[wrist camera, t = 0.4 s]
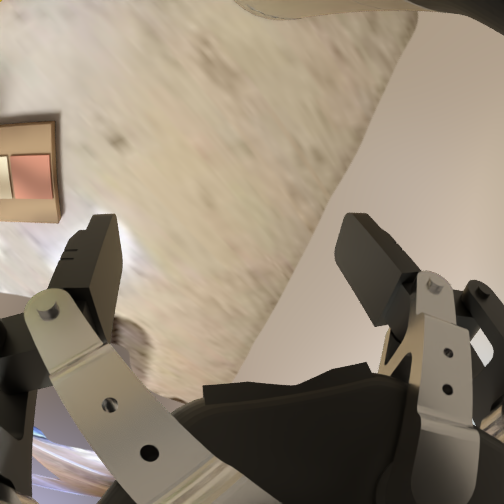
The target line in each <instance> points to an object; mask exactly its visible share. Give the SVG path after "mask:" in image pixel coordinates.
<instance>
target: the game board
mask: <svg viewBox="0 0 504 504" xmlns="http://www.w3.org/2000/svg"><path fill="white" fill-rule="evenodd" d="M60 219H61V212H60V204H59V194H58V183H57V169H56V148H55V121H44V122H28V123H15V124H5V125H0V221H6V222H34V223H59V221H60Z"/></svg>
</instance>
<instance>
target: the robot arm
mask: <svg viewBox="0 0 504 504" xmlns="http://www.w3.org/2000/svg"><path fill="white" fill-rule="evenodd" d="M234 1H235V2H236V3H237V4H239V5H240V6H241V7H242V8H244V9H245V10H247V11H249V12H251V13H253V14H255V15H258V16H261V17H264V18H267V19H274V20H292V19H301V18H305V17H312V16H320V15H328V14H337V13H348V12H363V11H399V10H405V11H430V12H444V13H446V12H447V13H454V14H461V15H465V16H468V17H471V18H473V19H475V20H477V21H479V22H481V23H483V24H485V25H487V26H488V27H490V28H492V29H494V30H495V31H497V32H499V33H500V34H502V35H504V0H234ZM335 261H336V264H337V265H338V267H339V268H340V270H341V272H342V273H343V275H344V277H345V278H346V280H347V281H348V283H349V285H350V286H351V288H352V290H353V291H354V293H355V295H356V296H357V298H358V299H359V301H360V303H361V304H362V306H363V308H364V309H365V311H366V313H367V314H368V316H369V318H370V320H371V321H372V323H373V325H374V326H375V327H377V326H382V325H389V327H390V328H389V329H388V331H387V333H386V336H385V341H384V346H383V351H382V356H381V361H380V365H379V370H378V373H372V372H371V370H370V368H369V366H368V364H367V362H364V363H359V364H355V365H350V366H345V367H340V368H335V369H331V370H329V371H327V372H325V373H323V374H321V375H319V376H316V377H314V378H312V379H310V380H307V381H305V382H303V383H301V384H298V385H292V386H290V385H277V384H265V383H255V382H240V383H229V384H217V385H203V398H200V399H197V400H194V401H192V402H189V403H187V404H185V405H183V406H181V407H180V408H178V409H176V410H175V411H173V412H172V413H171V414H170V413H169V412H168V411H167V410H166V409H165V408H164V407H163V405H162V404H161V403H160V402H159V401H158V400H157V399H156V398H155V397H154V396H153V395H152V394H151V392H150V391H149V390H148V389H147V388H146V387H145V386H144V385H143V383H142V382H141V381H140V380H139V379H138V378H137V376H136V375H135V374H134V373H133V372H132V371H131V369H130V368H129V367H128V366H127V364H126V363H125V362H124V361H123V360H122V358H121V357H120V356H119V355H118V353H117V352H116V351H115V350H114V348H113V347H112V346H111V345H110V341H111V334H112V327H113V320H114V314H115V307H116V302H117V296H118V290H119V285H120V279H121V274H122V266H123V260H122V250H121V244H120V238H119V231H118V223H117V218H116V215H115V214H97V215H93V216H92V218H91V220H90V222H89V225H88V227H87V229H86V230H79V231H78V232H77V233H75V234H74V235H73V236H72V237H71V238H70V239H69V241H68V243H67V245H66V247H65V249H64V252H63V253H62V256H61V258H60V260H59V262H58V265H57V267H56V269H55V272H54V274H53V276H52V279H51V281H50V283H49V286H48V288H47V290H43V291H41V292H39V293H37V294H36V295H34V296H33V297H32V298H31V299H30V300H29V301H28V303H27V305H26V307H25V310H24V313H21V314H17V315H14V316H10V317H6V318H2V319H0V504H39V503H38V502H36V500H34V499H33V498H32V471H31V470H32V441H33V426H34V415H35V406H36V398H37V390H38V389H41V388H45V387H49V386H54V387H55V390H56V391H57V393H58V395H59V397H60V399H61V400H62V402H63V404H64V405H65V407H66V409H67V410H68V412H69V414H70V415H71V417H72V419H73V420H74V422H75V423H76V425H77V427H78V428H79V430H80V431H81V433H82V434H83V435H84V437H85V439H86V440H87V442H88V443H89V444H90V446H91V447H92V449H93V450H94V452H95V453H96V454H97V456H98V457H99V458H100V460H101V461H102V462H103V464H104V465H105V466H106V468H107V469H108V470H109V471H110V473H111V474H112V475H113V476H114V478H115V479H116V480H115V481H114V483H113V484H112V485H111V486H110V488H109V489H108V490H107V491H106V493H105V494H104V495H103V496H102V498H101V499H100V500H99V501H98V503H97V504H504V305H503V303H502V302H501V301H500V300H499V298H498V297H497V296H496V295H495V293H494V292H493V291H492V290H491V289H490V288H489V287H488V286H487V285H485V284H484V283H482V282H480V281H477V280H470V281H469V282H468V284H467V286H466V288H465V289H464V291H459V290H453V289H452V287H451V285H450V284H449V282H448V281H447V280H446V279H445V278H443V277H442V276H440V275H439V274H437V273H434V272H431V271H421V270H420V269H419V267H418V266H417V265H416V264H415V263H414V262H413V261H412V259H411V258H410V257H409V256H408V255H407V254H406V252H405V251H402V248H401V247H400V246H399V245H398V244H396V241H395V240H394V239H393V238H392V237H391V236H390V234H388V233H387V232H386V231H384V230H382V229H381V228H380V227H379V226H378V225H377V224H376V222H375V221H374V220H373V219H372V218H371V217H370V216H369V215H368V214H366V213H347V214H346V215H345V217H344V219H343V223H342V226H341V230H340V233H339V237H338V240H337V243H336V247H335ZM480 328H481V329H482V331H483V332H484V334H485V335H486V337H487V338H488V340H489V341H490V343H491V344H492V346H493V350H494V354H493V358H492V360H491V361H490V362H489V364H487V365H486V367H484V365H483V363H482V361H481V360H480V358H479V357H478V355H477V353H476V352H475V350H474V348H473V347H472V345H471V344H470V341H471V340H472V338H473V337H474V335H475V334H476V333H477V332H478V330H479V329H480ZM472 418H473V420H474V422H475V425H476V426H475V425H473V424H472Z"/></svg>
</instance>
